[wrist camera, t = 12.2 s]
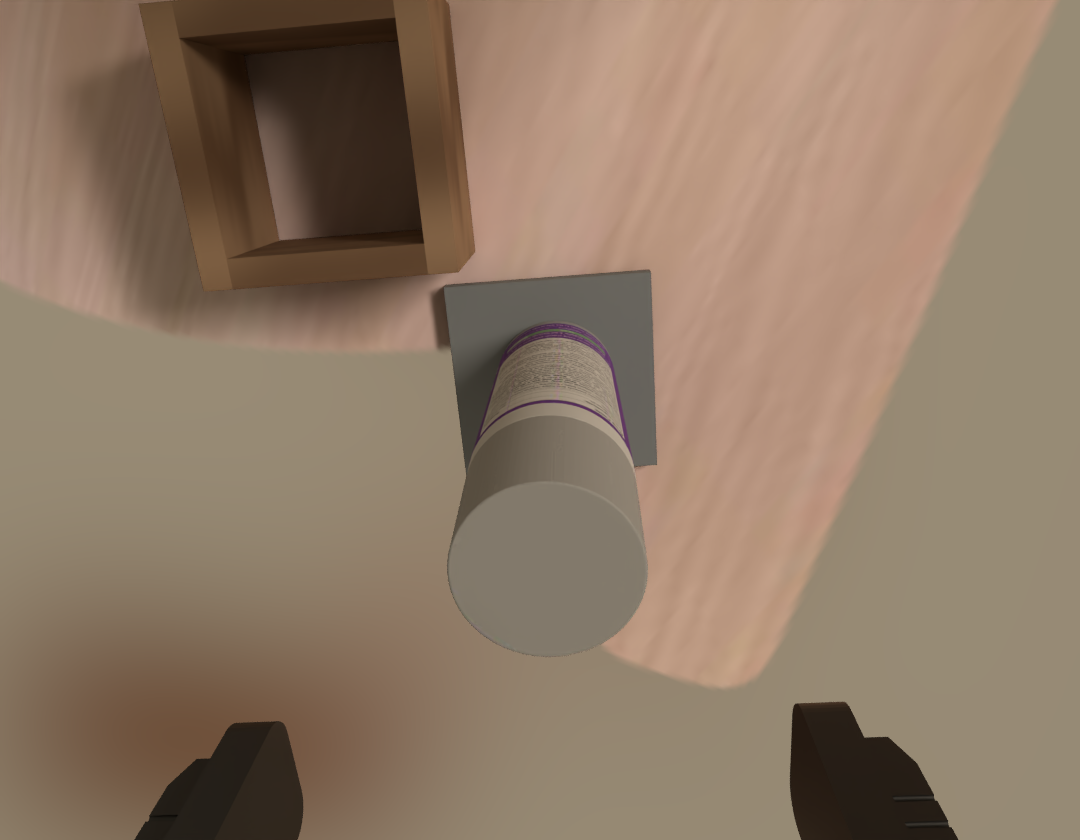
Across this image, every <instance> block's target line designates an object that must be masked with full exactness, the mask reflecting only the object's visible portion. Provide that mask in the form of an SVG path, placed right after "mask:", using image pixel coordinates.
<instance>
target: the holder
mask: <svg viewBox="0 0 1080 840" xmlns="http://www.w3.org/2000/svg"><path fill="white" fill-rule="evenodd" d="M139 8H140V12H141V17H142V21H143V26H144V30H145V34H146V39H147V43H148V48H149V52H150V56H151V61H152V65H153V70H154V74H155V79H156V83H157V87H158V92H159V96H160V101H161V105H162V109H163V114H164V118H165V123H166V127H167V132H168V136H169V140H170V145H171V149H172V154H173V158H174V162H175V167H176V171H177V176H178V180H179V185H180V189H181V193H182V198H183V202H184V207H185V211H186V216H187V220H188V224H189V229H190V233H191V238H192V242H193V246H194V251H195V255H196V260H197V264H198V269H199V273H200V277H201V282H202V286H203V291H217V290H231V289H244V288H257V287H270V286H283V285H297V284H310V283H323V282H336V281H350V280H363V279H376V278H389V277H402V276H416V275H429V274H442V273H455V272H459V271H460V270H461V268H462V267H463V266H464V265H465V263H466V262H467V261H468V260H469V259H470V257H471V256H472V255H473V254H474V252H475V245H474V236H473V226H472V217H471V208H470V198H469V189H468V179H467V170H466V161H465V151H464V142H463V133H462V123H461V114H460V104H459V95H458V86H457V76H456V67H455V57H454V48H453V39H452V29H451V20H450V10H449V4H448V3H447V2H446V0H174V1H164V2H154V3H144V4H139ZM389 41H398V42H399V50H400V58H401V66H402V74H403V81H404V89H405V97H406V105H407V113H408V121H409V128H410V136H411V144H412V152H413V160H414V167H415V175H416V183H417V191H418V199H419V207H420V214H421V222H422V229H420V230H407V231H394V232H382V233H369V234H356V235H344V236H331V237H319V238H306V239H293V240H281V241H279V237H278V232H277V226H276V221H275V216H274V211H273V205H272V200H271V195H270V189H269V184H268V179H267V174H266V168H265V163H264V158H263V152H262V147H261V142H260V137H259V131H258V126H257V121H256V115H255V110H254V105H253V100H252V94H251V89H250V84H249V79H248V73H247V68H246V63H245V57H244V55H250V54H261V53H272V52H282V51H293V50H304V49H314V48H325V47H336V46H347V45H357V44H368V43H379V42H389Z"/></svg>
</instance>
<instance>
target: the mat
mask: <svg viewBox="0 0 1080 840" xmlns="http://www.w3.org/2000/svg"><path fill="white" fill-rule="evenodd" d="M444 296H445V304H446V312H447V320H448V328H449V337H450V345H451V353H452V361H453V369H454V377H455V385H456V394H457V402H458V410H459V418H460V427H461V435H462V443H463V451H464V459H465V468H466V476H467V472H468V467H469V462H470V458H471V455H472V452H473V448H474V445H475V442H476V439H477V435H478V432H479V429H480V426H481V422H482V419H483V416H484V413H485V409H486V406H487V403H488V399H489V396H490V393H491V390H492V386H493V383H494V380H495V377H496V373H497V370H498V367H499V364H500V360H501V358H502V356H503V353H504V351H505V350H506V348H507V346H508V345H509V344H510V342H511V341H512V340H513V339H514V338H515V337H516V336H517V335H518V334H519V333H521V332H522V331H524V330H525V329H527V328H529V327H531V326H533V325H536V324H539V323H542V322H548V321H565V322H570V323H574V324H577V325H579V326H582V327H584V328H585V329H587V330H589V331H590V332H592V333H593V334H594V335H595V336H596V337H597V338H598V339H599V340H600V341H601V342H602V343H603V345H604V346H605V348H606V349H607V351H608V353H609V355H610V358H611V360H612V364H613V367H614V372H615V376H616V381H617V386H618V391H619V396H620V400H621V405H622V410H623V415H624V420H625V424H626V429H627V434H628V439H629V444H630V448H631V453H632V458H633V463H634V466H646V465H657V450H656V418H655V386H654V355H653V323H652V292H651V272H650V270H638V271H625V272H612V273H598V274H585V275H572V276H558V277H545V278H531V279H518V280H505V281H491V282H478V283H465V284H451V285H445V286H444Z"/></svg>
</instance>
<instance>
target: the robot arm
mask: <svg viewBox="0 0 1080 840" xmlns="http://www.w3.org/2000/svg"><path fill="white" fill-rule="evenodd" d="M791 740H792V741H791V764H790V765H791V766H790V792H791V800H792V806H793V812H794V817H795V821H796V825H797V828H798V831H799V834H800V837H801V840H958V838H957V836H956V835H955V833H954V831H953V829H952V828H951V827H949V825H948V820H947V818H946V816H945V814H944V813H943V811H942V809H941V807H940V805H939V803H938V801H935V799H934V794H933V792H932V790H931V788H930V787H929V785H928V783H927V781H926V780H925V777H924V776H923V774H922V772H921V770H920V768H919V766H918V764H917V763H916V762H915V761H914V760H913V759H911V757H909V756H908V755H907V754H906V753H905V752H904V751H903V750H902V749H901V748H900V747H898V746H897V745H896V744H895V743H894V742H893V741H892V740H891V739H890V738H888V737H871V738H864V736H863V734H862V732H861V730H860V728H859V726H858V724H857V722H856V719H855V717H854V715H853V713H852V711H851V709H850V707H849V706H848V705H847V704H846V703H845V702H825V703H800V704H795V705H794V708H793V714H792V739H791ZM149 816H150V818H149V821H148V822H145V824H144V825H143V827H142V828H141V830H140V832H139V833H138V835H137V836H136V839H135V840H297V839H298V837H299V833H300V829H301V824H302V818H303V796H302V790H301V786H300V782H299V778H298V774H297V770H296V766H295V761H294V758H293V753H292V749H291V745H290V741H289V737H288V733H287V730H286V727H285V725H284V724H283V723H282V722H279V721H276V722H250V723H234V724H232V725H231V726H230V727H229V728H228V729H227V731H226V732H225V734H224V736H223V737H222V739H221V741H220V743H219V744H218V746H217V748H216V750H215V751H214V753H213V755H212V757H211V758H210V759H196V760H195V761H194V762H193V763H192V764H191V765H190V766H189V767H187V769H186V770H184V771H183V772H182V773H181V774H180V775H179V776H178V777H177V778H176V779H175V780H173V781H172V782H171V783H170V784H169V785H168V786H167V788H166V789H165V791H164V793H163V795H162V796H161V798H160V799H159V801H158V802H157V804H156V806H155V807H154V809H153V811H152V812H151V814H150V815H149Z"/></svg>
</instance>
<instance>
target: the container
mask: <svg viewBox="0 0 1080 840" xmlns="http://www.w3.org/2000/svg"><path fill="white" fill-rule="evenodd" d="M447 562H448V563H447V573H448V581H449V586H450V590H451V593H452V595H453V598H454V600H455V602H456V604H457V606H458V608H459V609H460V611H461V613H462V614H463V616H464V617H465V618H466V619H467V621H468V622H469V623H470V624H471V625H472V626H473V627H474V628H475V629H476V630H477V631H478V632H480V633H481V634H482V635H483V636H485V637H486V638H488V639H489V640H491V641H492V642H494V643H496V644H498V645H500V646H502V647H504V648H507V649H509V650H512V651H515V652H518V653H522V654H526V655H532V656H543V657H556V656H566V655H571V654H576V653H580V652H583V651H586V650H589V649H591V648H594V647H596V646H598V645H600V644H602V643H604V642H605V641H607V640H608V639H610V638H611V637H613V636H614V635H615V634H617V633H618V632H619V631H620V630H621V629H622V628H623V627H624V626H625V625H626V624H627V623H628V622H629V621H630V619H631V618H632V617H633V615H634V614H635V612H636V610H637V609H638V607H639V605H640V603H641V601H642V598H643V595H644V592H645V589H646V584H647V577H648V564H647V556H646V548H645V541H644V534H643V527H642V520H641V513H640V505H639V498H638V491H637V484H636V476H635V469H634V463H633V458H632V453H631V448H630V444H629V439H628V434H627V429H626V424H625V420H624V415H623V410H622V405H621V400H620V396H619V391H618V386H617V381H616V376H615V372H614V367H613V364H612V360H611V358H610V355H609V353H608V351H607V349H606V348H605V346H604V345H603V343H602V342H601V341H600V340H599V339H598V338H597V337H596V336H595V335H594V334H593V333H592V332H590V331H589V330H587V329H585V328H584V327H582V326H579V325H577V324H574V323H570V322H565V321H548V322H542V323H539V324H536V325H533V326H531V327H529V328H527V329H525V330H524V331H522V332H521V333H519V334H518V335H517V336H516V337H515V338H514V339H513V340H512V341H511V342H510V344H509V345H508V346H507V348H506V350H505V351H504V353H503V356H502V358H501V360H500V364H499V367H498V370H497V373H496V377H495V380H494V383H493V386H492V390H491V393H490V396H489V399H488V403H487V406H486V409H485V413H484V416H483V419H482V422H481V426H480V429H479V432H478V435H477V439H476V442H475V445H474V448H473V452H472V455H471V458H470V462H469V467H468V472H467V476H466V481H465V485H464V489H463V493H462V498H461V502H460V506H459V511H458V515H457V519H456V523H455V528H454V532H453V537H452V541H451V545H450V549H449V553H448V561H447Z"/></svg>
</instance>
